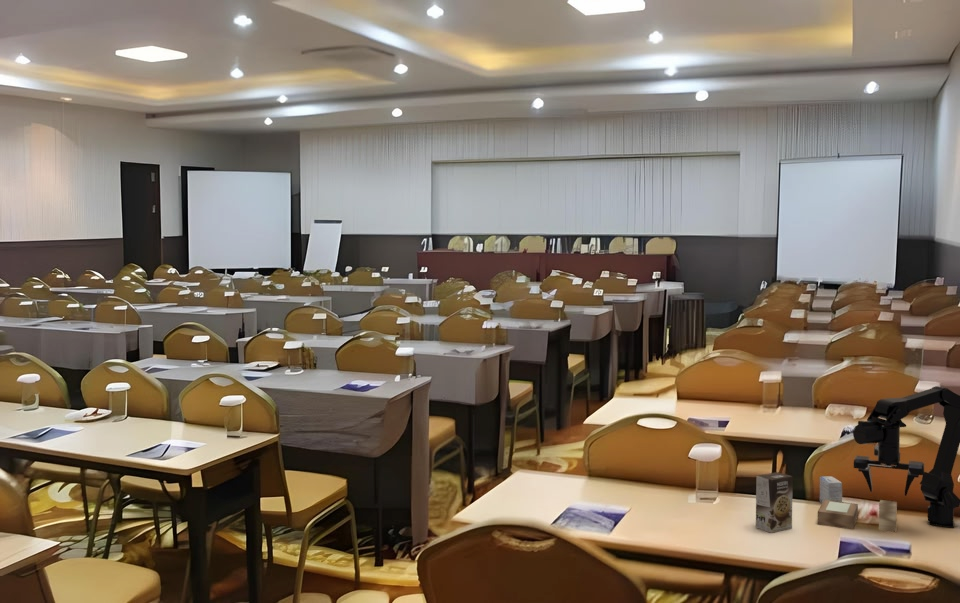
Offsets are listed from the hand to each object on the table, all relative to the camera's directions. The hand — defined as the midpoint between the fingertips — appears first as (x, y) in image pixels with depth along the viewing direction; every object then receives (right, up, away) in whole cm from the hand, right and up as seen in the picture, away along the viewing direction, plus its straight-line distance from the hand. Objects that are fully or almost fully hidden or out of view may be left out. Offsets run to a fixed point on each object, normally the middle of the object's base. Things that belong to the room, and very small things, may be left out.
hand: (888, 493), depth 245 cm
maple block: (0, -11, +1) cm, 11 cm away
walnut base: (-11, -11, +9) cm, 18 cm away
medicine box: (-7, -10, +25) cm, 28 cm away
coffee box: (-33, -11, +3) cm, 35 cm away
